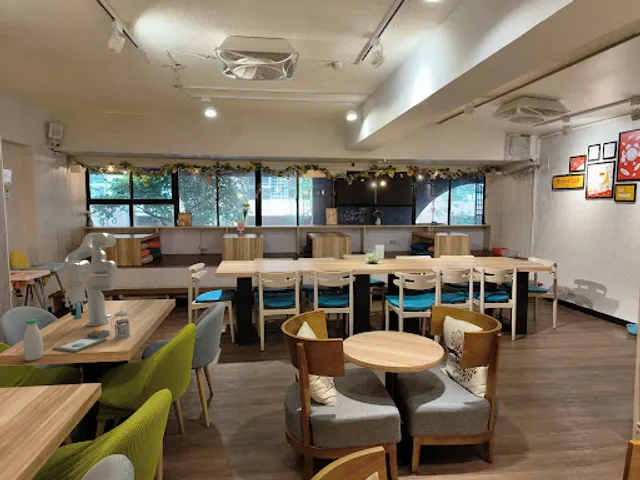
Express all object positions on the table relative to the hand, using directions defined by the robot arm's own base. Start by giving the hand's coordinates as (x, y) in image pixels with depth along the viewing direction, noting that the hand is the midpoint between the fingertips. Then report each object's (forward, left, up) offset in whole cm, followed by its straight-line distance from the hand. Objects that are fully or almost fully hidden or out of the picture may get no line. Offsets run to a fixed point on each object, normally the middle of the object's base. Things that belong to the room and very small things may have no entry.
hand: (77, 313), depth 236 cm
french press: (-8, +23, -15) cm, 29 cm away
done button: (-4, +10, -13) cm, 17 cm away
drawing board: (+10, +12, -14) cm, 21 cm away
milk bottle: (+32, +6, -15) cm, 35 cm away
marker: (0, 0, -3) cm, 3 cm away
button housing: (-4, +10, -14) cm, 18 cm away
